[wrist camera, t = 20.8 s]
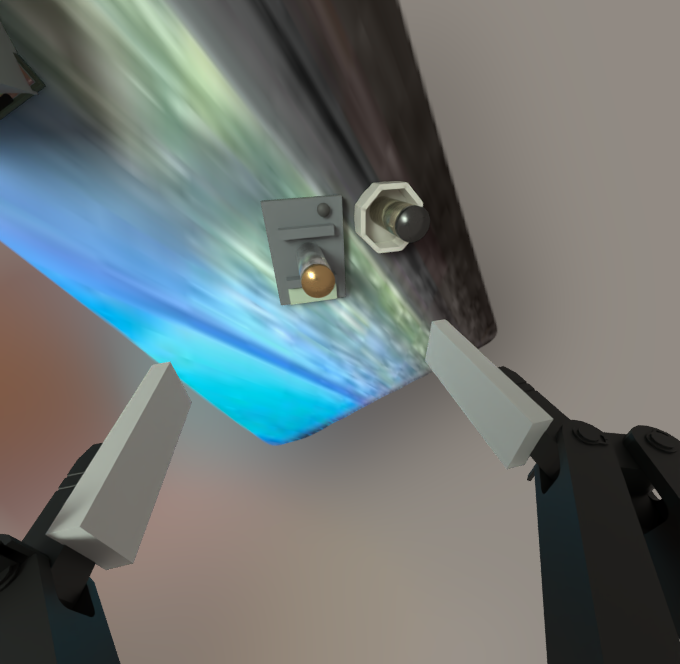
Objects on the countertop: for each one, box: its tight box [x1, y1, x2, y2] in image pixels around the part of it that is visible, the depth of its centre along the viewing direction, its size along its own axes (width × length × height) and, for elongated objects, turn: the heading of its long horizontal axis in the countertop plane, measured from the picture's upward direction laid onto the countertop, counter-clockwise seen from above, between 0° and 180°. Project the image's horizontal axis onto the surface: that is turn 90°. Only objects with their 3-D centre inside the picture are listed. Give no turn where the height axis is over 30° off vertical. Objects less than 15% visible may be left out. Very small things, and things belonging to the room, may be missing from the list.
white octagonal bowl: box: [354, 181, 423, 253], centre depth 35 cm, size 8×8×4 cm
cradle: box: [261, 195, 346, 305], centre depth 36 cm, size 14×10×3 cm
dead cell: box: [369, 196, 430, 243], centre depth 31 cm, size 4×4×10 cm
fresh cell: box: [296, 242, 335, 298], centre depth 31 cm, size 4×4×10 cm
